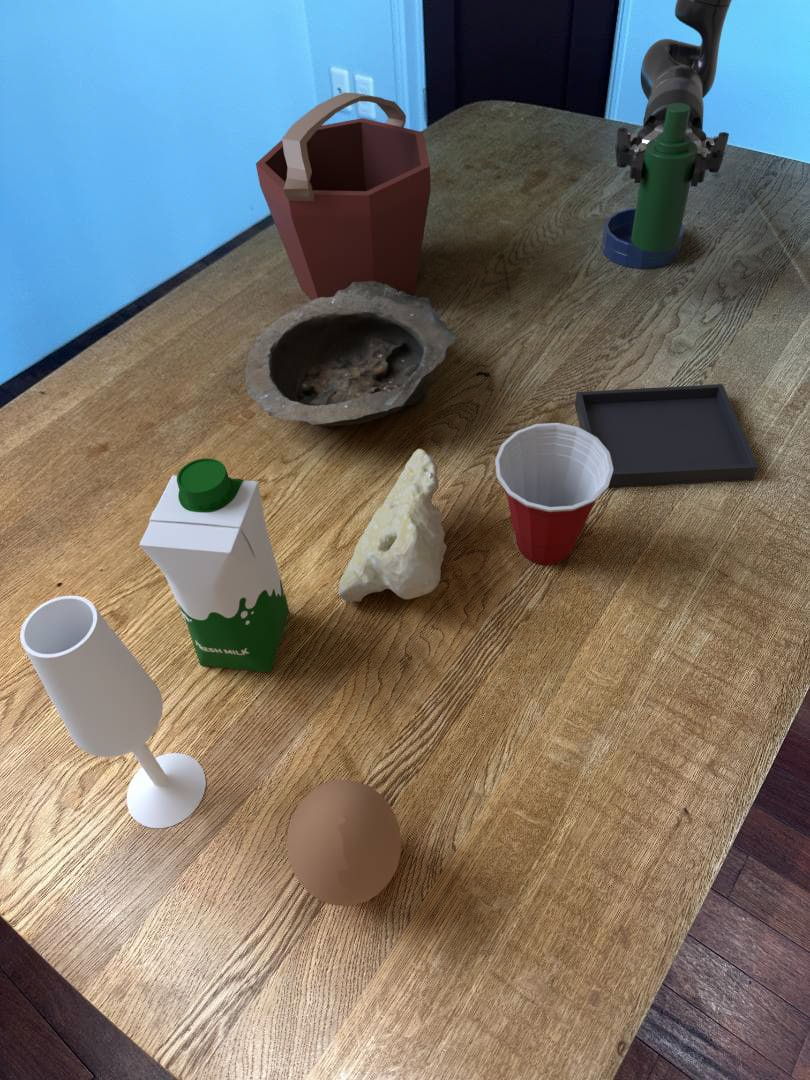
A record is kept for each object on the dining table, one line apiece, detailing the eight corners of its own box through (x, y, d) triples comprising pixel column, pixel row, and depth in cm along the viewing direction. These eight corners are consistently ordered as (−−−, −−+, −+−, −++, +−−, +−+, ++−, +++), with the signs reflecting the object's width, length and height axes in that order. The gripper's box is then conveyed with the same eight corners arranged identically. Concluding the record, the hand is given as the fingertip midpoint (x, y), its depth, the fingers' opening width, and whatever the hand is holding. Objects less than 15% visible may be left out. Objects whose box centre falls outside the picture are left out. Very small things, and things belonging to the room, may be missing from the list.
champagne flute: (213, 752, 71) (125, 582, 53) (197, 829, 66) (95, 672, 48) (137, 752, 71) (25, 583, 53) (117, 828, 67) (-14, 672, 49)
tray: (718, 397, 97) (722, 383, 96) (753, 480, 88) (758, 467, 87) (574, 404, 98) (576, 391, 97) (594, 488, 89) (596, 475, 87)
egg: (407, 816, 66) (398, 753, 57) (402, 925, 60) (392, 873, 52) (306, 814, 66) (283, 751, 58) (292, 922, 61) (264, 870, 53)
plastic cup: (486, 581, 81) (488, 498, 72) (497, 503, 88) (500, 418, 79) (596, 592, 79) (613, 509, 70) (599, 512, 86) (614, 426, 77)
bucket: (339, 351, 108) (312, 162, 89) (244, 289, 119) (202, 110, 101) (468, 277, 118) (469, 93, 99) (370, 226, 129) (353, 53, 111)
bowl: (668, 230, 123) (673, 205, 120) (686, 269, 116) (692, 243, 113) (596, 235, 124) (599, 210, 121) (608, 274, 116) (612, 248, 113)
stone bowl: (487, 367, 103) (486, 307, 96) (377, 500, 92) (367, 443, 84) (332, 312, 113) (320, 253, 106) (215, 426, 101) (193, 369, 94)
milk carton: (300, 605, 81) (262, 458, 66) (277, 684, 75) (229, 542, 60) (216, 597, 82) (160, 451, 67) (187, 674, 76) (118, 532, 61)
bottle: (672, 227, 108) (698, 95, 96) (683, 250, 104) (711, 116, 92) (627, 230, 108) (647, 98, 96) (635, 253, 104) (658, 120, 92)
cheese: (398, 657, 78) (506, 549, 74) (339, 622, 75) (449, 506, 71) (376, 573, 91) (466, 477, 87) (325, 540, 88) (417, 438, 84)
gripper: (622, 86, 107) (610, 142, 96) (737, 90, 104) (737, 148, 93) (614, 144, 112) (602, 203, 102) (723, 149, 109) (722, 211, 99)
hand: (667, 177), depth 97 cm, fingers closed on bottle, 6 cm apart
